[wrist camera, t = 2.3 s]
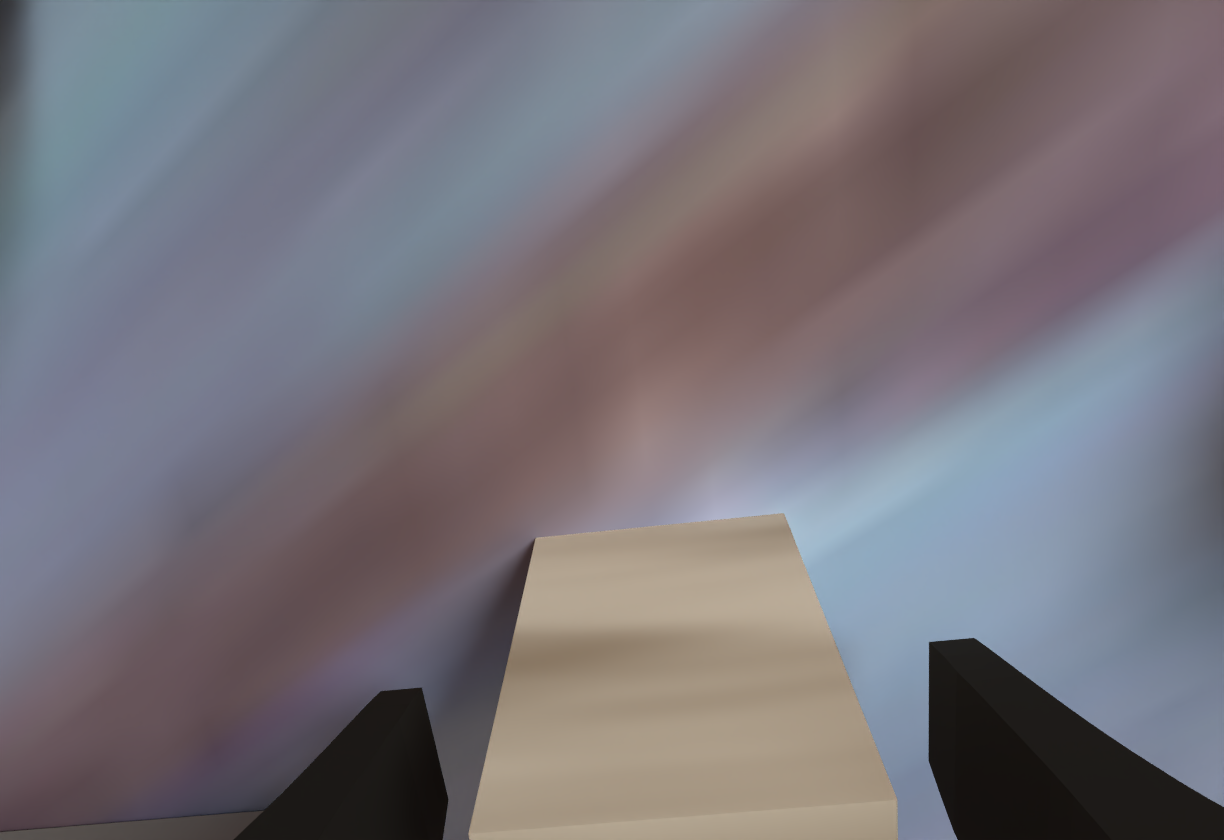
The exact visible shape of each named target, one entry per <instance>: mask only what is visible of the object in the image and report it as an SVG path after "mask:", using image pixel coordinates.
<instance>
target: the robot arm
mask: <svg viewBox="0 0 1224 840" xmlns="http://www.w3.org/2000/svg"><path fill="white" fill-rule="evenodd" d="M929 763H930V766H931V769H932V772H933V775H934V778H935V780H936V783H937V786H938V789H939V792H940V795H941V798H942V801H943V803H944V806H945V809H946V811H947V814H948V817H949V820H950V822H951V825H952V828H953V830H954V833H955V835H956V837H957V839H958V840H1224V807H1222V806H1221V805H1219V804H1217V803H1215V802H1213V801H1212V800H1210V799H1208V798H1206V797H1205V796H1203V795H1201V794H1200V793H1198V792H1196V791H1194V790H1193V789H1191V788H1189V787H1188V786H1186V785H1184V784H1183V783H1181V782H1179V781H1178V780H1176V779H1175V778H1173V777H1171V776H1170V775H1168V774H1167V773H1165V772H1164V771H1162V770H1160V769H1159V768H1157V767H1156V766H1154V765H1153V764H1151V763H1149V762H1148V761H1146V760H1145V759H1143V758H1142V757H1140V756H1138V755H1137V754H1135V753H1134V752H1132V751H1131V750H1129V749H1128V748H1126V747H1125V746H1123V745H1122V744H1120V743H1119V742H1117V741H1116V740H1114V739H1113V738H1111V737H1110V736H1108V735H1107V734H1105V733H1104V732H1102V731H1101V730H1099V729H1098V728H1097V727H1095V726H1094V725H1092V724H1091V723H1089V722H1088V721H1086V720H1085V719H1084V718H1082V717H1081V716H1079V715H1078V714H1077V713H1075V712H1074V711H1072V710H1071V709H1070V708H1068V707H1067V706H1065V705H1064V704H1063V703H1061V702H1060V701H1059V700H1057V699H1056V698H1054V697H1053V696H1052V695H1050V694H1049V693H1048V692H1046V691H1045V690H1044V689H1042V688H1041V687H1039V686H1038V685H1037V684H1035V683H1034V682H1033V681H1031V680H1030V679H1029V678H1027V677H1026V676H1025V675H1023V674H1022V673H1021V672H1019V671H1018V670H1017V669H1015V668H1014V667H1013V666H1011V665H1010V664H1009V663H1007V662H1006V661H1005V660H1003V659H1002V658H1001V657H999V656H998V655H997V654H995V653H994V652H993V651H991V650H990V649H989V648H987V647H986V646H985V645H983V644H982V643H980V642H979V641H978V640H976V639H975V638H969V639H958V640H947V641H936V642H929ZM447 806H448V796H447V792H446V788H445V783H444V779H443V775H442V771H441V767H440V762H439V758H438V754H437V750H436V746H435V741H434V737H433V733H432V729H431V725H430V720H429V716H428V712H427V708H426V704H425V699H424V695H423V691H422V688H412V689H401V690H390V691H381V692H380V693H379V694H378V695H377V696H375V697H374V698H373V699H372V700H371V701H370V702H369V703H368V704H367V705H366V707H365V708H364V709H363V710H362V711H361V712H360V713H359V714H358V715H357V716H356V717H355V718H354V719H353V720H352V721H351V722H350V723H349V724H348V725H347V727H346V728H345V729H344V730H343V731H342V732H341V733H340V734H339V735H338V736H337V737H336V738H335V739H334V740H333V741H332V742H331V744H330V745H329V746H328V747H327V748H326V749H325V750H324V751H323V752H322V753H321V754H320V755H319V756H318V757H317V758H316V759H315V760H314V761H313V762H312V763H311V764H310V765H309V766H308V767H307V768H306V769H305V770H304V771H303V773H302V774H301V775H300V776H299V777H298V778H297V779H296V780H295V781H294V782H293V783H292V784H291V785H290V786H289V787H288V788H287V789H286V790H285V791H284V792H283V793H282V794H281V795H280V796H279V797H278V798H277V799H276V800H275V801H274V802H273V803H272V804H270V805H269V806H268V807H267V808H266V809H265V810H264V811H263V812H262V813H261V814H260V815H259V816H258V817H257V818H256V819H255V820H254V821H253V822H251V823H250V824H249V825H248V826H247V827H246V828H245V829H244V830H243V831H242V832H241V833H240V834H239V835H238V836H237V837H236V838H235V839H234V840H442V839H443V833H444V826H445V819H446V813H447Z"/></svg>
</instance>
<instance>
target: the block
mask: <svg viewBox="0 0 1224 840" xmlns="http://www.w3.org/2000/svg"><path fill="white" fill-rule="evenodd" d="M468 835H469V839H470V840H898V824H897V798H896V796H895V793H894V790H893V788H892V785H891V783H890V780H889V778H888V775H887V773H886V770H885V768H884V765H883V763H882V760H881V758H880V755H879V753H878V750H877V747H876V745H875V742H874V740H873V737H872V735H871V732H870V730H869V727H868V725H867V722H866V720H865V717H864V715H863V712H862V710H861V707H860V704H859V702H858V699H857V697H856V694H855V692H854V689H853V687H852V684H851V682H850V679H849V677H848V674H847V672H846V669H845V667H844V664H843V661H842V659H841V656H840V654H839V651H838V649H837V646H836V644H835V641H834V639H833V636H832V634H831V631H830V629H829V626H828V624H827V621H826V618H825V616H824V613H823V611H822V608H821V606H820V603H819V601H818V598H817V596H816V593H815V591H814V588H813V586H812V583H811V581H810V578H809V575H808V573H807V570H806V568H805V565H804V563H803V560H802V558H801V555H800V553H799V550H798V548H797V545H796V543H795V540H794V538H793V535H792V533H791V530H790V527H789V525H788V522H787V520H786V517H785V515H784V513H781V514H771V515H761V516H751V517H741V518H731V519H721V520H711V521H701V522H691V523H681V524H671V525H660V526H650V527H640V528H630V529H620V530H610V531H600V532H590V533H580V534H570V535H560V536H550V537H540V538H536V539H535V543H534V548H533V552H532V557H531V561H530V565H529V570H528V574H527V579H526V583H525V587H524V592H523V596H522V601H521V605H520V609H519V614H518V618H517V623H516V627H515V631H514V636H513V640H512V644H511V649H510V653H509V658H508V662H507V666H506V671H505V675H504V680H503V684H502V688H501V693H500V697H499V702H498V706H497V710H496V715H495V719H494V724H493V728H492V732H491V737H490V741H489V745H488V750H487V754H486V759H485V763H484V767H483V772H482V776H481V781H480V785H479V789H478V794H477V798H476V803H475V807H474V811H473V816H472V820H471V825H470V829H469V833H468Z"/></svg>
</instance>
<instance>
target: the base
mask: <svg viewBox="0 0 1224 840" xmlns="http://www.w3.org/2000/svg"><path fill="white" fill-rule="evenodd" d="M262 812H263V811H253V812H241V813H229V814H216V815H204V816H192V817H180V818H167V819H155V820H143V821H130V822H118V823H106V824H94V825H81V826H69V827H57V828H44V829H32V830H20V831H8V832H0V840H234V839H235V838H236V837H237V836H238V835H239V834H240V833H241V832H242V831H243V830H244V829H245V828H246V827H247V826H248V825H249V824H250V823H251V822H253V821H254V820H255V819H256V818H257V817H258V816H259V815H260V814H261V813H262Z"/></svg>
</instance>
